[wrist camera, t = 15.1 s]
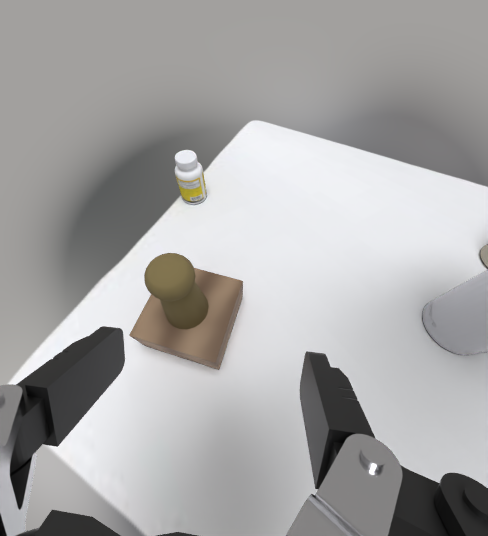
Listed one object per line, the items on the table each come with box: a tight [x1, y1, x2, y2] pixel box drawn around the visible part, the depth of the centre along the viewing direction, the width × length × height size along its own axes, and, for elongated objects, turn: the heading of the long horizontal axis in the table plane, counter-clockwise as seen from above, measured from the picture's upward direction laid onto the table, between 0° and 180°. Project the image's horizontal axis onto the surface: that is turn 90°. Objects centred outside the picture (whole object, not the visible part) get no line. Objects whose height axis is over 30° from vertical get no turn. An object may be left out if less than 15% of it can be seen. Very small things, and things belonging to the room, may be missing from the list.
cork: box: [144, 253, 209, 329], centre depth 29 cm, size 6×6×11 cm
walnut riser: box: [130, 268, 243, 370], centre depth 36 cm, size 12×12×6 cm
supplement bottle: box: [175, 150, 207, 204], centre depth 49 cm, size 5×5×10 cm
